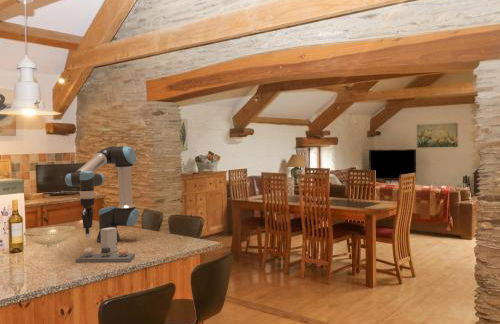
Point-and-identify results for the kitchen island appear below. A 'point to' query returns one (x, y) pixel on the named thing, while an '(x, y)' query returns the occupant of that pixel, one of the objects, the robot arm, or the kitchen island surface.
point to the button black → (105, 251)
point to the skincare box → (109, 239)
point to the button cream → (88, 251)
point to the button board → (105, 258)
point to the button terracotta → (123, 252)
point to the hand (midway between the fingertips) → (88, 239)
